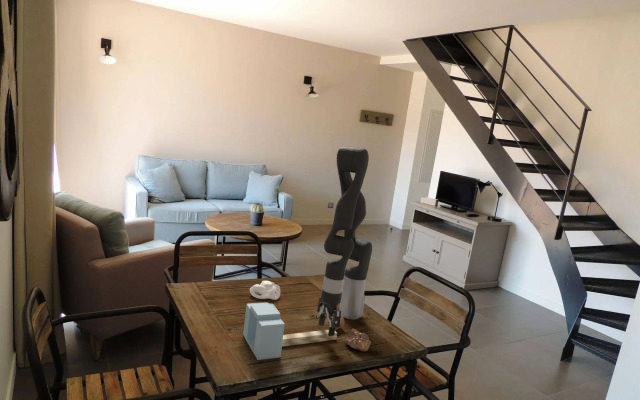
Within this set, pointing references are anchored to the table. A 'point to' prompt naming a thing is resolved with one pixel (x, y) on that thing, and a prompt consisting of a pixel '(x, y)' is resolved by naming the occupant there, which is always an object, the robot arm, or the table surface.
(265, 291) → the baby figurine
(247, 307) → the light blue notched block
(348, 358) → the table surface
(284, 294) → the table surface
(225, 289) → the table surface
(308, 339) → the long cream stick
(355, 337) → the mineral specimen
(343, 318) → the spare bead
